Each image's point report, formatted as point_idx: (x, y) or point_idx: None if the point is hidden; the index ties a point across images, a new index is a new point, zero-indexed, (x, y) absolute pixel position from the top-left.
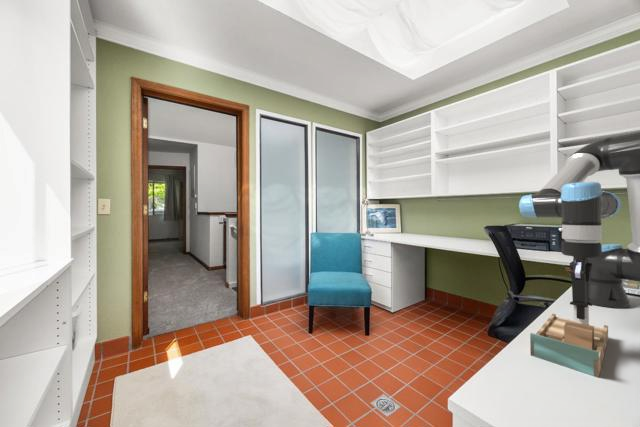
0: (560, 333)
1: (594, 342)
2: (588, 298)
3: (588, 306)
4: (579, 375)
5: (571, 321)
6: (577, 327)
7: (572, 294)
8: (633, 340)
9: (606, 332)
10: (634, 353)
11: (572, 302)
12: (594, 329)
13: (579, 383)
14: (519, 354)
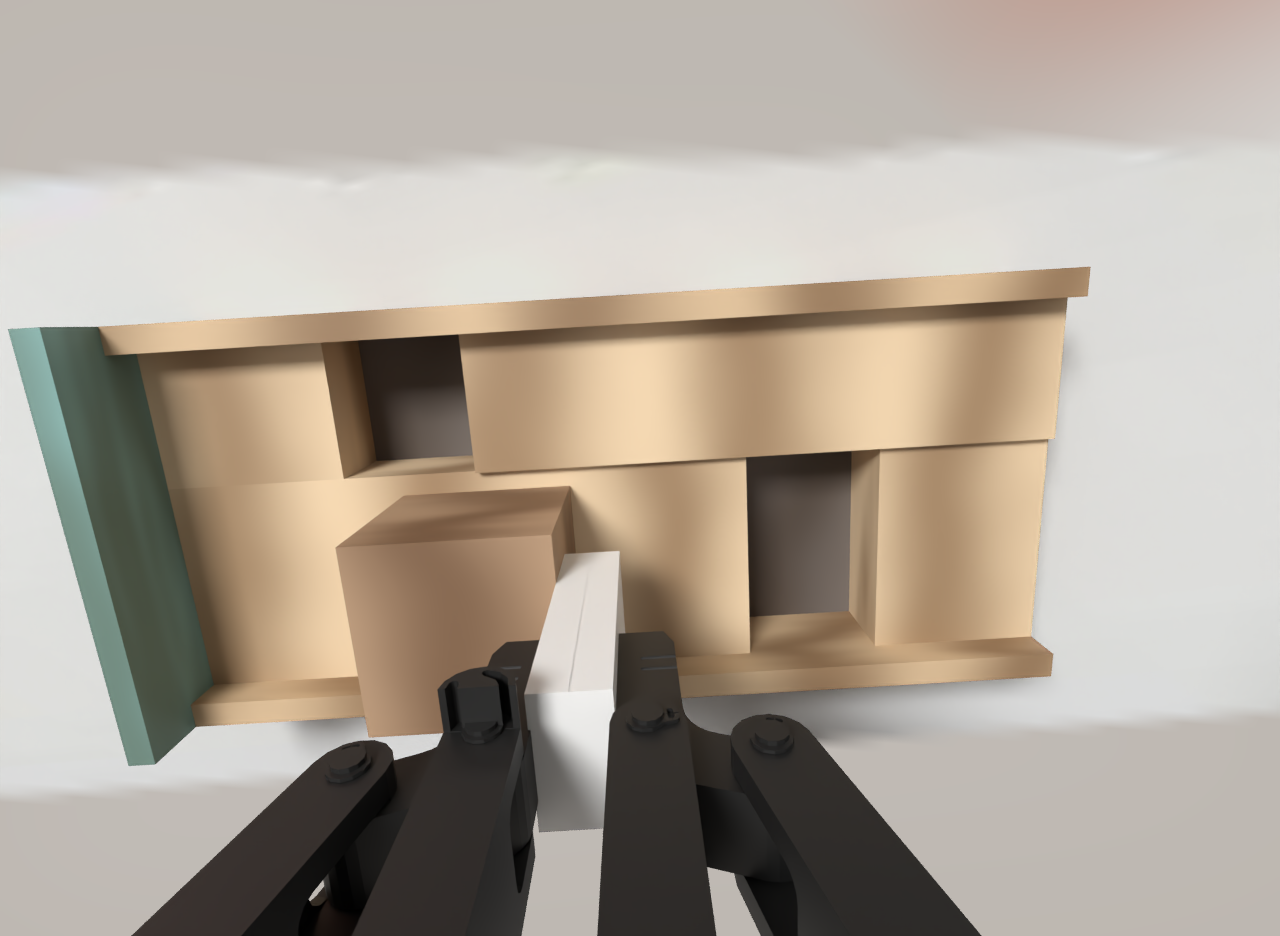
0: (575, 437)
1: None
2: (740, 890)
3: (602, 827)
4: None
5: (540, 568)
6: (389, 639)
7: (165, 907)
8: (1099, 719)
9: (868, 682)
10: (833, 741)
11: (339, 755)
12: (949, 590)
13: None
14: (124, 264)
